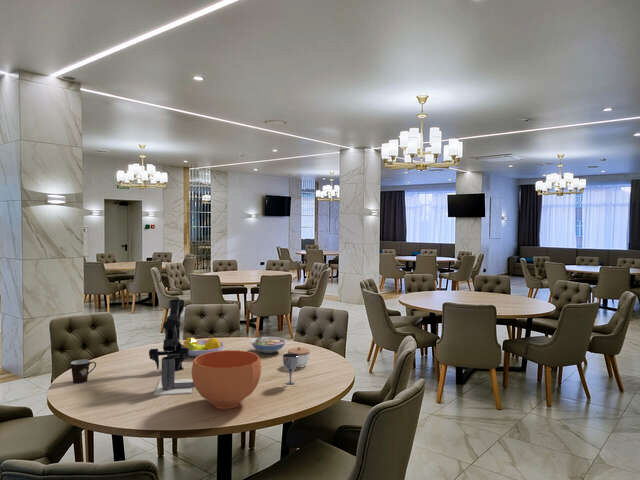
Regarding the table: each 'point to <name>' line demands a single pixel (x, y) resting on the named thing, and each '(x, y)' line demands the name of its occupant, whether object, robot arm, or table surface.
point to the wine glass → (290, 364)
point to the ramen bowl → (268, 344)
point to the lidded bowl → (301, 355)
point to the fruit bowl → (202, 346)
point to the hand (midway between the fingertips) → (167, 368)
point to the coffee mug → (80, 370)
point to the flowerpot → (226, 376)
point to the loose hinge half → (168, 371)
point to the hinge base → (175, 387)
